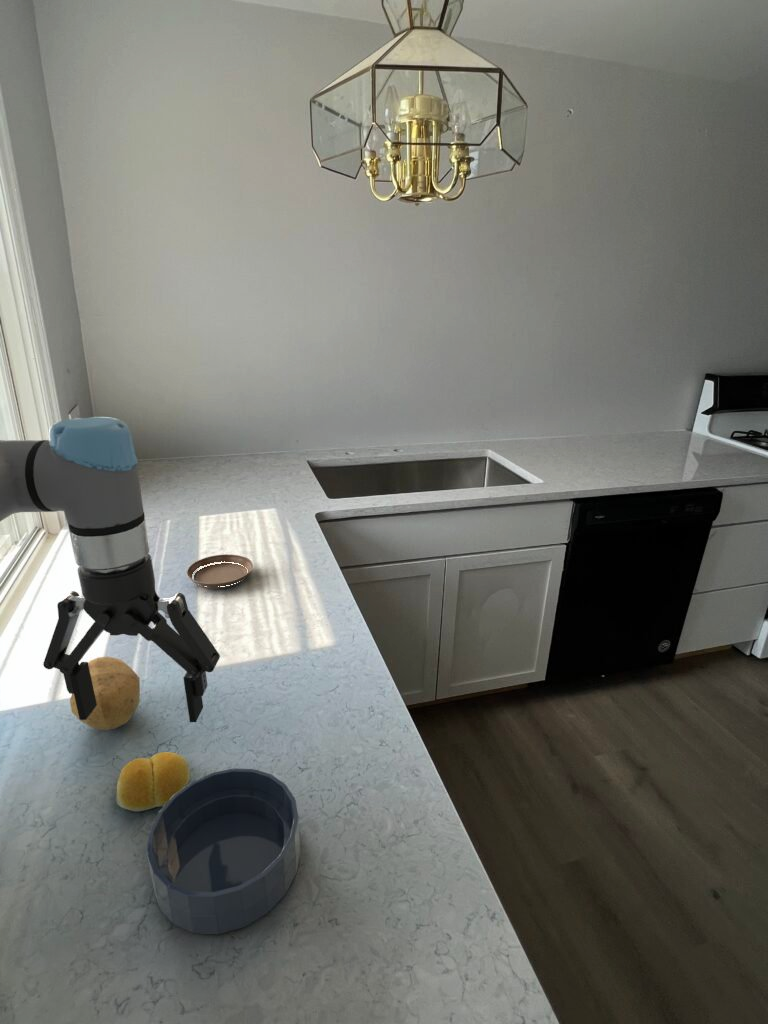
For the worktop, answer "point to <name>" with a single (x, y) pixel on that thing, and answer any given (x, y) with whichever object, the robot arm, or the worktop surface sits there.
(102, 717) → the potato
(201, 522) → the worktop surface
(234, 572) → the saucer
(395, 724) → the worktop surface
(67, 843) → the worktop surface
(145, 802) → the bread roll
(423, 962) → the worktop surface
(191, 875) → the blue grey bowl
